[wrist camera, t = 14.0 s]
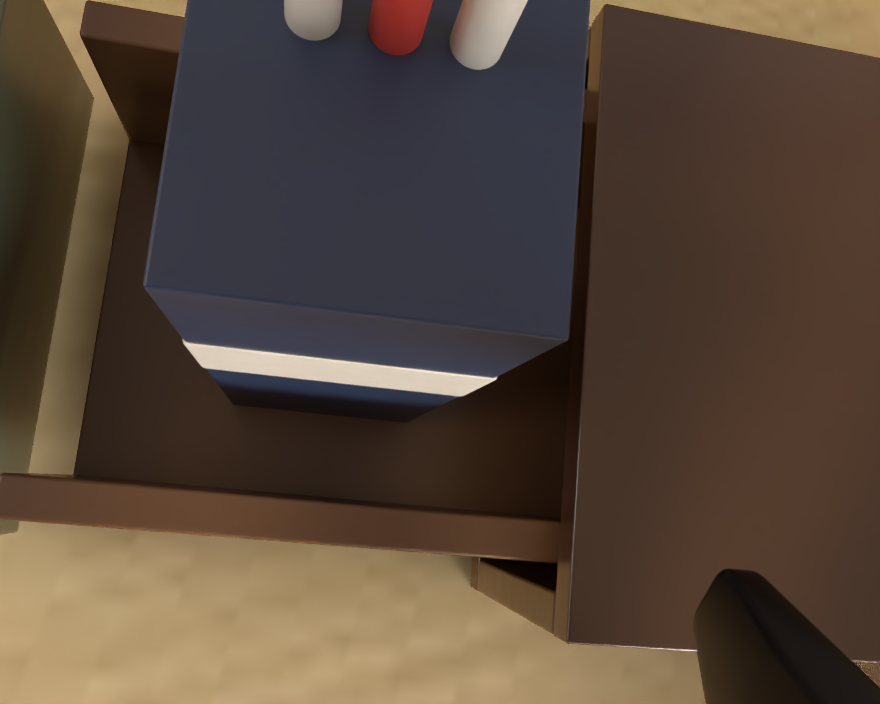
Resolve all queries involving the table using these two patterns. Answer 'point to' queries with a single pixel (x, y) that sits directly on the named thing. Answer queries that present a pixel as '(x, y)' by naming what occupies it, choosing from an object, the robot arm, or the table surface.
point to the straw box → (370, 197)
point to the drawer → (192, 387)
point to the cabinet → (718, 340)
